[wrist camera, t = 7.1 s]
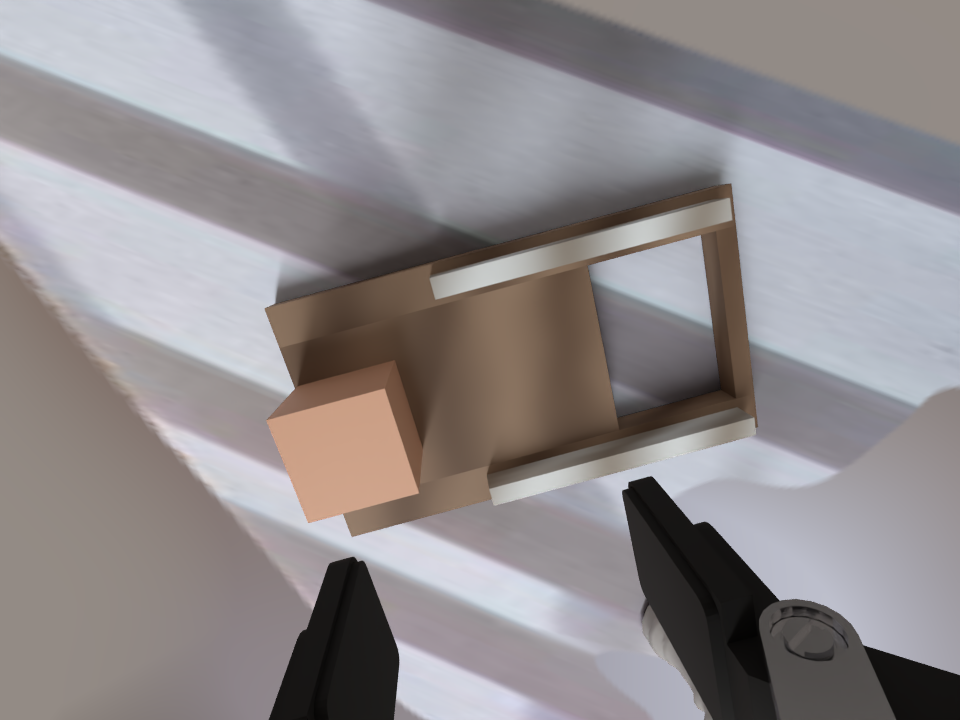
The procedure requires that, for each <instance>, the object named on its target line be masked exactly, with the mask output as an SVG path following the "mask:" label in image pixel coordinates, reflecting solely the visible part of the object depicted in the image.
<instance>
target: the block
mask: <svg viewBox="0 0 960 720" xmlns="http://www.w3.org/2000/svg"><path fill="white" fill-rule="evenodd" d="M267 423H268V425H269V428H270V430H271V433H272V435H273V438H274V440H275V443H276V445H277V448H278V450H279V452H280V455H281V457H282V460H283V462H284V465H285V467H286V470H287V472H288V475H289V477H290V479H291V482H292V484H293V487H294V489H295V492H296V494H297V497H298V499H299V502H300V504H301V507H302V509H303V511H304V514H305V516H306V519H307V521H308V523H311V522H314V521H318V520H322V519H325V518H329V517H333V516H337V515H340V514H344V513H348V512H351V511H355V510H359V509H363V508H366V507H370V506H374V505H377V504H381V503H385V502H389V501H392V500H396V499H400V498H403V497H407V496H411V495H415V494H418V493H419V488H420V476H421V465H422V454H423V447H422V444H421V441H420V438H419V435H418V432H417V428H416V425H415V422H414V419H413V416H412V413H411V410H410V406H409V403H408V400H407V397H406V394H405V391H404V387H403V384H402V381H401V378H400V375H399V372H398V369H397V365H396V362H395V360H393V361H390V362H386V363H382V364H379V365H375V366H371V367H367V368H364V369H360V370H356V371H352V372H349V373H345V374H341V375H338V376H334V377H330V378H326V379H323V380H319V381H315V382H311V383H308V384H304V385H300V386H297V387H296V389H295V390H294V391H293V392H292V393H291V394H290V395H289V396H288V397H287V398H286V399H285V401H284V402H283V403H282V404H281V405H280V406H279V407H278V408H277V409H276V410H275V411H274V413H273V414H272V415H271V416H270V417H269V418H268V419H267Z"/></svg>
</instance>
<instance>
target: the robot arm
mask: <svg viewBox="0 0 960 720" xmlns="http://www.w3.org/2000/svg"><path fill="white" fill-rule="evenodd" d="M628 488H629V489H626V490H623V491H622V495H623V501H624V506H625V511H626V516H627V521H628V526H629V531H630V536H631V541H632V546H633V551H634V556H635V561H636V566H637V571H638V576H639V580H640V584H641V587H642V590H643V593H644V595H645V597H646V599H647V601H648V603H649V604H650V606H651V608H652V610H653V612H654V613H655V615H656V617H657V619H658V621H659V623H660V624H661V626H662V628H663V630H664V632H665V633H666V635H667V637H668V639H669V641H670V643H671V644H672V646H673V648H674V650H675V652H676V653H677V655H678V657H679V659H680V661H681V662H682V664H683V666H684V668H685V670H686V672H687V673H688V675H689V677H690V679H691V681H692V682H693V684H694V686H695V688H696V690H697V692H698V693H699V695H700V697H701V699H702V701H703V702H704V704H705V706H706V708H707V710H708V712H709V713H710V715H711V717H712V719H713V720H960V675H957V674H954V673H951V672H947V671H944V670H941V669H938V668H934V667H932V666H928V665H925V664H922V663H918V662H915V661H912V660H909V659H906V658H903V657H899V656H896V655H893V654H890V653H886V652H883V651H880V650H877V649H873V648H870V647H867V646H864V645H863V644H862V642H861V640H860V638H859V635H858V634H857V632H856V631H855V629H854V628H853V626H852V625H851V623H849V622H848V621H847V620H846V619H845V618H844V617H843V616H841V615H840V614H839V613H837V612H835V611H834V610H832V609H830V608H828V607H826V606H824V605H821V604H818V603H815V602H811V601H805V600H798V599H792V600H782V601H779V600H778V599H777V598H776V596H775V595H774V594H773V593H772V592H771V591H770V590H769V588H768V587H767V586H766V585H765V584H764V583H763V582H762V581H761V580H760V579H759V577H758V576H757V575H756V574H755V573H754V572H753V571H752V570H751V569H750V568H749V566H748V565H747V564H746V563H745V562H744V561H743V560H742V559H741V557H740V556H739V555H738V554H737V553H736V552H735V551H734V550H733V549H732V548H731V546H730V545H729V544H728V543H727V542H726V541H725V540H724V539H723V538H722V536H721V535H720V534H719V533H718V532H717V531H716V530H715V529H714V528H713V527H712V526H711V525H710V524H709V523H707V522H702V523H698V524H695V525H693V524H692V523H691V522H690V520H689V519H688V518H687V517H686V516H685V514H684V513H683V512H682V511H681V510H680V508H679V507H677V505H676V504H675V503H674V501H673V500H672V499H671V498H670V497H669V495H668V494H667V493H666V492H665V491H664V490H663V488H662V487H661V486H660V485H659V484H658V482H657V481H656V480H655V479H654V478H653V477H652V476H650V477H646V478H642V479H639V480H635V481H631V482H629V483H628ZM398 672H399V653H398V648H397V645H396V643H395V640H394V637H393V635H392V632H391V629H390V627H389V624H388V621H387V619H386V616H385V614H384V611H383V608H382V606H381V603H380V600H379V598H378V595H377V593H376V590H375V587H374V585H373V582H372V579H371V577H370V574H369V572H368V569H367V566H366V564H365V562H364V561H359V562H357V560H356V558H355V557H350V558H346V559H343V560H339V561H335V562H332V563H330V564H329V566H328V568H327V571H326V574H325V577H324V580H323V583H322V586H321V589H320V592H319V595H318V598H317V601H316V604H315V607H314V610H313V613H312V616H311V619H310V622H309V625H308V627H307V629H306V630H303V631H302V632H301V633H300V635H299V637H298V639H297V641H296V644H295V647H294V650H293V653H292V656H291V659H290V661H289V664H288V667H287V670H286V673H285V675H284V678H283V681H282V684H281V687H280V690H279V692H278V695H277V698H276V701H275V704H274V707H273V710H272V712H271V715H270V718H269V720H394V712H395V702H396V692H397V682H398Z"/></svg>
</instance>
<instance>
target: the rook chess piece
mask: <svg viewBox="0 0 960 720" xmlns="http://www.w3.org/2000/svg"><path fill="white" fill-rule="evenodd" d="M642 629H643V634H644V636H645V637H646V639H647V640H648V642H649V644H650V645H651V647H652V649H653V650H654V652H655V653H656V654H657V655H658V656H659V657H660V658H662V659H663V660H665V661H667V662H668V664H670V665H671V666H673V667H675V668H676V669H677V670H678V671H679V672H680V673H681V675H682V676H683V678H684V679H685V680H686V682H687V683H688V684H689V686H690V688H691V690H692V691H693V693H694V703H695V704H696V706H697V708H698V709H700V710H702V711H704V712H705V718H704V720H713V719H712V717H711V715H710V713H709V712H708V710H707V708H706V706H705V704H704V702H703V701H702V699H701V697H700V695H699V693H698V692H697V690H696V688H695V686H694V684H693V682H692V681H691V679H690V677H689V675H688V673H687V672H686V670H685V668H684V666H683V664H682V662H681V661H680V659H679V657H678V655H677V653H676V652H675V650H674V648H673V646H672V644H671V643H670V641H669V639H668V637H667V635H666V633H665V632H664V630H663V628H662V626H661V624H660V623H659V621H658V619H657V617H656V615H655V613H654V612H653V610H652V608H651V606H650V604H649V605H648V607H647V609H646V612H645V615H644V617H643V620H642Z"/></svg>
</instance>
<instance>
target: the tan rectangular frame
mask: <svg viewBox="0 0 960 720" xmlns="http://www.w3.org/2000/svg"><path fill="white" fill-rule="evenodd" d="M699 235H701V238H702V246H703V254H704V262H705V269H706V277H707V285H708V293H709V300H710V308H711V316H712V324H713V332H714V339H715V347H716V355H717V363H718V370H719V378H720V386H721V390H719V391H715V392H711V393H708V394H704V395H700V396H697V397H693V398H689V399H685V400H682V401H678V402H674V403H671V404H667V405H663V406H660V407H656V408H652V409H648V410H645V411H641V412H637V413H634V414H630V415H626V416H622V417H619V418H617V415H616V410H615V405H614V400H613V394H612V389H611V384H610V379H609V374H608V369H607V364H606V358H605V353H604V348H603V343H602V338H601V333H600V327H599V322H598V317H597V312H596V307H595V302H594V297H593V291H592V286H591V281H590V276H589V271H588V266H587V265H591V264H595V263H598V262H602V261H606V260H610V259H613V258H617V257H621V256H624V255H628V254H632V253H636V252H639V251H643V250H647V249H651V248H654V247H658V246H662V245H665V244H669V243H673V242H677V241H680V240H684V239H688V238H691V237H695V236H699ZM265 311H266V314H267V316H268V319H269V322H270V324H271V327H272V329H273V332H274V335H275V337H276V340H277V342H278V345H279V348H280V350H281V353H282V356H283V358H284V361H285V363H286V366H287V369H288V371H289V374H290V376H291V379H292V382H293V384H294V387H295V389H296V387H297V386H300V385H304V384H308V383H311V382H315V381H319V380H323V379H326V378H330V377H334V376H338V375H341V374H345V373H349V372H352V371H356V370H360V369H364V368H367V367H371V366H375V365H379V364H382V363H386V362H390V361H393V360H395V362H396V365H397V369H398V372H399V375H400V378H401V381H402V384H403V387H404V391H405V394H406V397H407V400H408V403H409V406H410V410H411V413H412V416H413V419H414V422H415V425H416V428H417V432H418V435H419V438H420V441H421V444H422V447H423V454H422V465H421V476H420V488H419V493H418V494H415V495H411V496H407V497H403V498H400V499H396V500H392V501H389V502H385V503H381V504H377V505H374V506H370V507H366V508H363V509H359V510H355V511H351V512H348V513H344V514H343V515H344V518H345V520H346V523H347V525H348V528H349V531H350V533H351V536H352V537H353V536H357V535H361V534H365V533H368V532H372V531H376V530H379V529H383V528H387V527H390V526H394V525H398V524H402V523H405V522H409V521H413V520H416V519H420V518H424V517H427V516H431V515H435V514H439V513H442V512H446V511H450V510H453V509H457V508H461V507H464V506H468V505H472V504H476V503H479V502H483V501H487V500H490V499H492V501H493V504H494V506H495V505H499V504H502V503H506V502H510V501H514V500H517V499H521V498H525V497H528V496H532V495H536V494H539V493H543V492H547V491H551V490H554V489H558V488H562V487H565V486H569V485H573V484H576V483H580V482H584V481H588V480H591V479H595V478H599V477H602V476H606V475H610V474H613V473H617V472H621V471H625V470H628V469H632V468H636V467H639V466H643V465H647V464H650V463H654V462H658V461H662V460H665V459H669V458H673V457H676V456H680V455H684V454H687V453H691V452H695V451H699V450H702V449H706V448H710V447H713V446H717V445H721V444H724V443H728V442H732V441H736V440H739V439H743V438H747V437H750V436H754V435H756V429H755V428H757V427H758V424H757V415H756V406H755V397H754V387H753V378H752V369H751V360H750V351H749V342H748V333H747V323H746V314H745V305H744V296H743V287H742V278H741V268H740V259H739V250H738V241H737V232H736V223H735V214H734V204H733V195H732V186H731V184H725V185H718V186H713V187H709V188H705V189H702V190H698V191H694V192H691V193H687V194H683V195H679V196H676V197H672V198H668V199H664V200H661V201H657V202H653V203H650V204H646V205H642V206H638V207H635V208H631V209H627V210H623V211H620V212H616V213H612V214H608V215H605V216H601V217H597V218H594V219H590V220H586V221H582V222H579V223H575V224H571V225H567V226H564V227H560V228H556V229H552V230H549V231H545V232H541V233H538V234H534V235H530V236H526V237H523V238H519V239H515V240H511V241H508V242H504V243H500V244H497V245H493V246H489V247H485V248H482V249H478V250H474V251H470V252H467V253H463V254H459V255H455V256H452V257H448V258H444V259H441V260H437V261H433V262H429V263H426V264H422V265H418V266H414V267H411V268H407V269H403V270H400V271H396V272H392V273H388V274H385V275H381V276H377V277H373V278H370V279H366V280H362V281H358V282H355V283H351V284H347V285H344V286H340V287H336V288H332V289H329V290H325V291H321V292H317V293H314V294H310V295H306V296H303V297H299V298H295V299H291V300H288V301H284V302H280V303H276V304H274V305H271V306H269V307H267V308H265Z"/></svg>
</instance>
